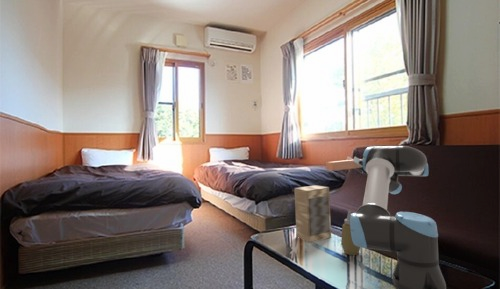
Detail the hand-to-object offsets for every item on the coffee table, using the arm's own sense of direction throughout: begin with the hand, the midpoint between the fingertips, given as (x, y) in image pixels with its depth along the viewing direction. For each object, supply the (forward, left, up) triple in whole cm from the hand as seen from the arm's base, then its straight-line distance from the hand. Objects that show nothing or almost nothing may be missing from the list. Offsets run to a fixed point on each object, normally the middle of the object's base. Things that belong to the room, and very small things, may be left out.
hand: (350, 158), depth 148 cm
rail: (-3, +1, -5) cm, 6 cm away
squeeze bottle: (-23, -11, -39) cm, 46 cm away
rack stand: (-17, +13, -39) cm, 44 cm away
